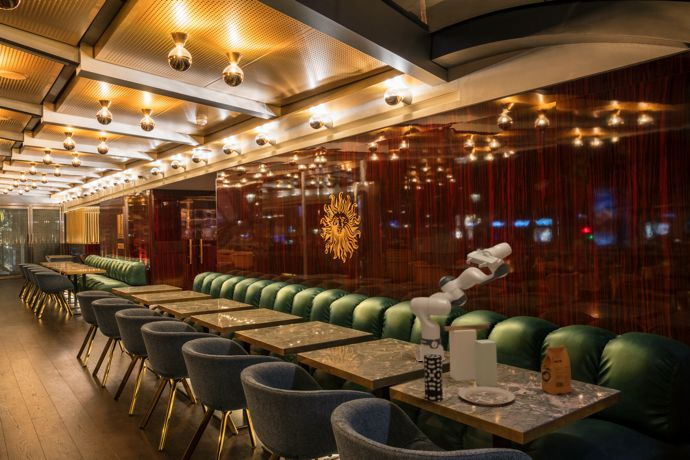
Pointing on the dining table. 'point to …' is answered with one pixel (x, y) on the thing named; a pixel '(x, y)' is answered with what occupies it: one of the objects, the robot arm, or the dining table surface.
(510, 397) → the plate
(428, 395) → the white-spotted black cylinder
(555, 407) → the dining table surface
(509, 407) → the dining table surface
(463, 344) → the tall stand
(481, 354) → the sage pillar
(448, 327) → the stick
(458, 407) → the dining table surface
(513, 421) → the dining table surface
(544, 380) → the coffee package
